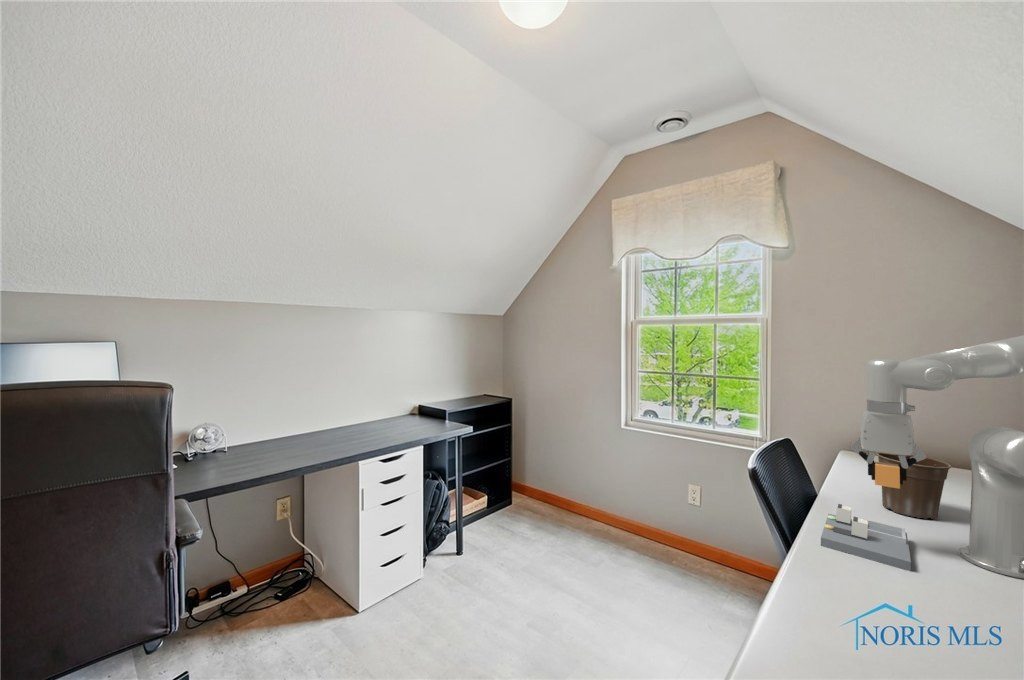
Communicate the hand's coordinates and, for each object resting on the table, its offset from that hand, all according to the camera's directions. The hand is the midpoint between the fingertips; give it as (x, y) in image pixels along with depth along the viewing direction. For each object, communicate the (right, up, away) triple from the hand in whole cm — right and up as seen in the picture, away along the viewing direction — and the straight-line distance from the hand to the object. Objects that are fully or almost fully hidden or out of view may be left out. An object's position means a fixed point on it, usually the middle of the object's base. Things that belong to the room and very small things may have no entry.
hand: (886, 480), depth 105 cm
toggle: (-5, -14, +7) cm, 16 cm away
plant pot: (+26, -17, +21) cm, 38 cm away
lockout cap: (0, -1, 0) cm, 1 cm away
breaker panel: (-6, -16, 0) cm, 17 cm away
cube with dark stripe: (-8, -14, -1) cm, 16 cm away
